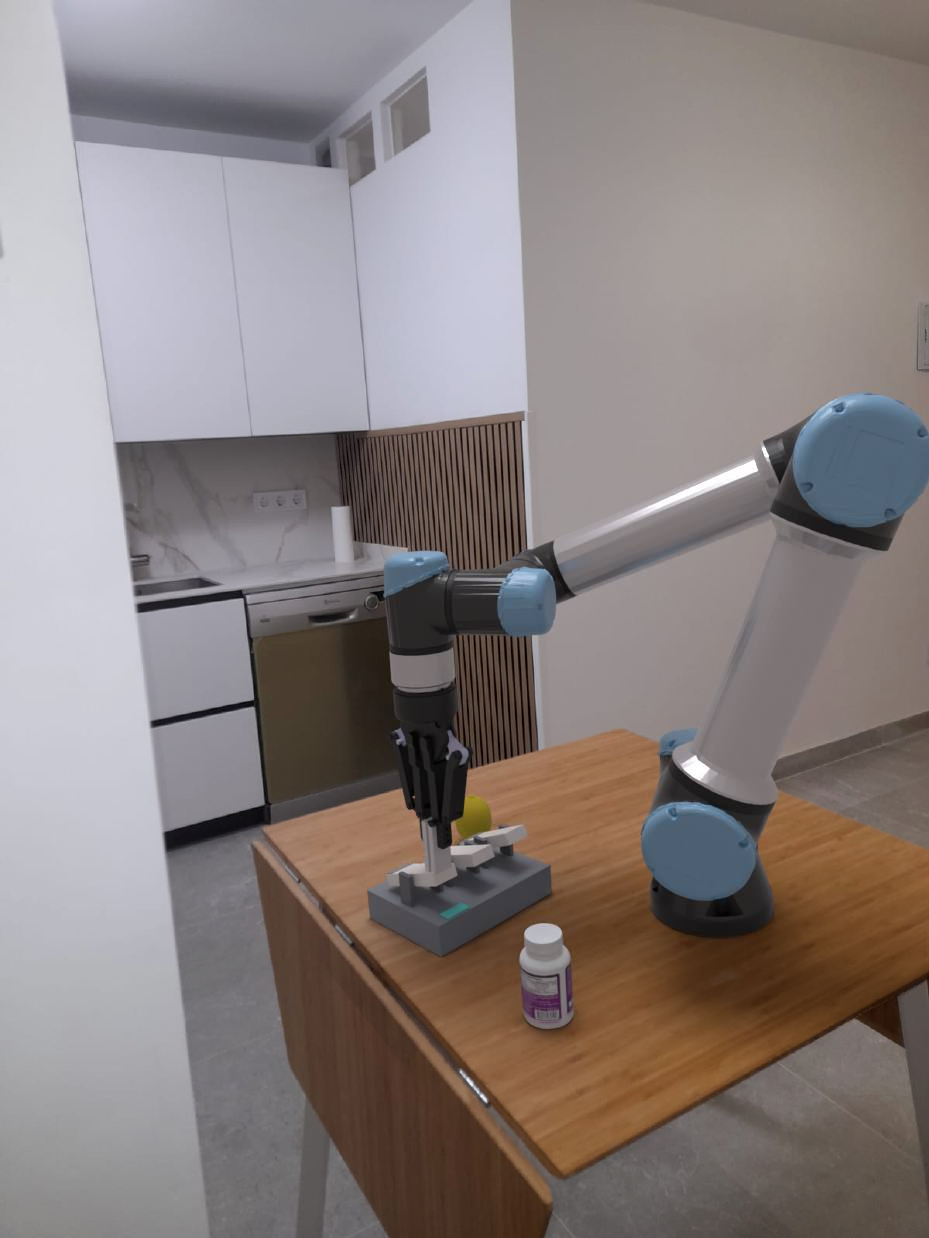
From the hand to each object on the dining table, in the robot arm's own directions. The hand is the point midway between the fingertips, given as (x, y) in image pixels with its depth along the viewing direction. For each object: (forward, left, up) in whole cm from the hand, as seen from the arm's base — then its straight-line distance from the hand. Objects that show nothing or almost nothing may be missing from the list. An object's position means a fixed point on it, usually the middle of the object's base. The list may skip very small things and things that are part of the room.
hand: (438, 868), depth 111 cm
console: (+4, -7, -9) cm, 12 cm away
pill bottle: (-20, +3, -9) cm, 23 cm away
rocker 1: (+4, 0, -2) cm, 4 cm away
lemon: (+16, -21, -9) cm, 27 cm away
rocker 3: (+4, -13, -2) cm, 14 cm away
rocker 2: (+4, -7, -2) cm, 8 cm away
